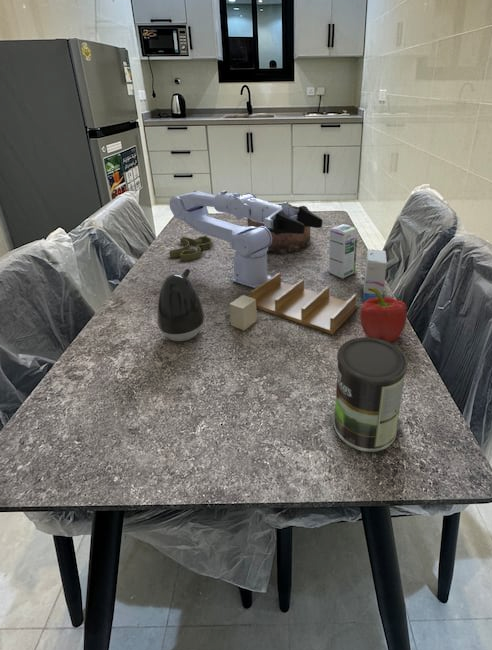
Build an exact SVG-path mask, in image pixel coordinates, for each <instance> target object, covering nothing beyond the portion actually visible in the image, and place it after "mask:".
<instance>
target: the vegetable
mask: <svg viewBox="0 0 492 650" xmlns="http://www.w3.org/2000/svg"><path fill="white" fill-rule="evenodd" d="M368 290H370V291H372V292H373V291H374V292H375V293H376V295H377V297H378V298H375V297H374V298H370V299H368V300H366V301H365V302H364V301H363V304H362V306H361V307H360V310H359V314H360V315H359V318H360V325H361V328H362V330H363V332H364V334H365V335H366V337H370V338H377V339H381V340H384V341H387V342H389V343H391V342H394V341H396V340H397V339H398V338H400V336H401V335H402V332H403V331H404V329H405V326H406V324H407V315H408V314H407V312H408V311H407V310H408V308H407V305H406V303H405V302H404V301H402V300H398V299H395V298H393V297H390V296H385V297H384V296H383V297H382V295H381V293H380V292H379V291H378V290H377V289H376V288H373V287H370V288H368Z"/></svg>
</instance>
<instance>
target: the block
mask: <svg viewBox="0 0 492 650" xmlns="http://www.w3.org/2000/svg"><path fill="white" fill-rule="evenodd" d="M228 305H229V317H230V325H231V326H232V327H234V328H236V329H239V330H241V331H246V330H247V329H248V328H250V327H251V326H252V325H253V324H255V323H256V322H257V321H258V314H257V313H258V312H257V311H258V310H257V308H256V299H254V298H251V296H247V295H245V294H242V295H240V296H239V297H238V298H235V299H234V300H233V301H231V302H230V303H229V304H228Z"/></svg>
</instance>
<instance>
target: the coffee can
mask: <svg viewBox="0 0 492 650" xmlns="http://www.w3.org/2000/svg"><path fill="white" fill-rule="evenodd" d="M336 358H337V368H336V387H335V405H334V417H333V427H334V430H335V432H336V434H337V436H338V437H339V439H341V441H342V442H343V443H345V444H346V445H347V446H349V447H351V448H353V449H355V450H358V451H360V452H367V453H376V452H380V451H384V450H385V449H387V448H389V447H390V446H391V445H392V444H393V443H394V442H395V440H396V437H397V432H398V431H397V430H398V424H399V423H398V421H399V415H400V409H401V402H402V398H403V397H402V396H403V391H404V382H405V376H406V372H407V370H408V360H407V357H406V354H405V353H404V352H403V351H402V350H401V349H400V348H398V347H397V346H396V345H394V344H393V343H391V342H387V341H384V340H381V339H377V338H370V337H368V336H363V337H356V338H351V339H349V340H347V341H345V342H344V343H342V345H341V346H339V348H338V350H337V353H336Z"/></svg>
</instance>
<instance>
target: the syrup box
mask: <svg viewBox="0 0 492 650" xmlns="http://www.w3.org/2000/svg"><path fill="white" fill-rule="evenodd" d="M357 245H358V228H357V227H356V226H353V225H350V224H345V223H342V224H340V225H336V226H334V227H330V228H329V248H328V249H329V252H328V254H329V256H328V273H330V274H331V275H334V276H335V277H338V278H340V279H345V278H346V277H349V276H351V275H353V274H355V273H356V261H357Z"/></svg>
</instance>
